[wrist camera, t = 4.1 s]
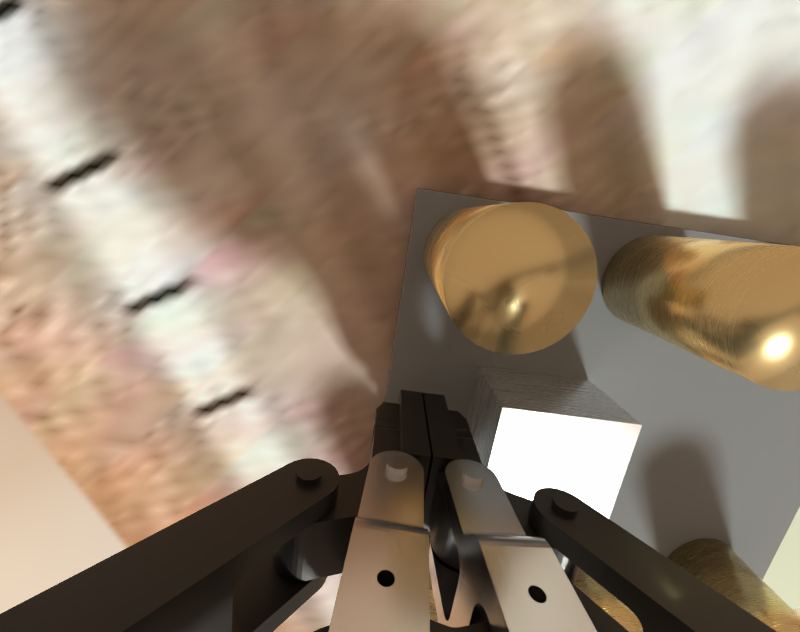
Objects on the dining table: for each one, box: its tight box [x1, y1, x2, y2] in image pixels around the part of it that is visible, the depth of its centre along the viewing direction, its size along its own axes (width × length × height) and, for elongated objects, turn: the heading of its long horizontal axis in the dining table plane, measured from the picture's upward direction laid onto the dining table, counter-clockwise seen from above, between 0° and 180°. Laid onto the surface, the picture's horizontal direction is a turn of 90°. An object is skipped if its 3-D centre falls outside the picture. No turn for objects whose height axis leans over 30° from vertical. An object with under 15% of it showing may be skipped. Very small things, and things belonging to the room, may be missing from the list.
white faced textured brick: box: [467, 365, 642, 519], centre depth 12 cm, size 4×4×3 cm
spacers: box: [424, 202, 800, 632], centre depth 11 cm, size 15×14×5 cm
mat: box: [385, 188, 800, 609], centre depth 14 cm, size 23×15×1 cm, turn 82°
